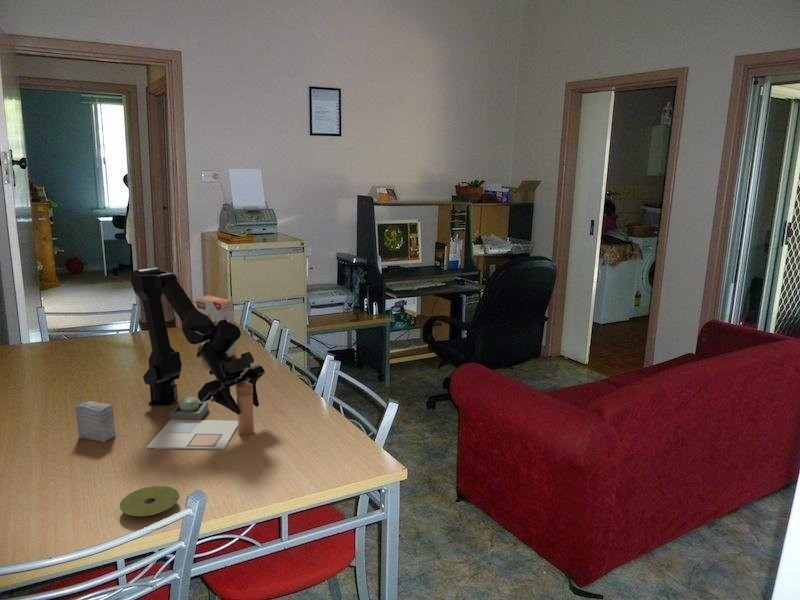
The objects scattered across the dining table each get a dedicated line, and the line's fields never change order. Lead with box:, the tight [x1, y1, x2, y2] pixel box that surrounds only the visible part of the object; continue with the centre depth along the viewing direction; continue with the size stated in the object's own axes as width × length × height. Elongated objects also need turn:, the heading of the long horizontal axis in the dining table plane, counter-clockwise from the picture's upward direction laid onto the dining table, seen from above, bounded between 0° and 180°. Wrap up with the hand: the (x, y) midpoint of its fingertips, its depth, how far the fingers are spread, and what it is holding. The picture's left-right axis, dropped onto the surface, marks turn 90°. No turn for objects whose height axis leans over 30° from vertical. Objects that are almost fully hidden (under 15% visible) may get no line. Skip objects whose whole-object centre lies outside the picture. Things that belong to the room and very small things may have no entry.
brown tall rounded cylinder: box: [235, 383, 255, 436], centre depth 156 cm, size 4×4×13 cm
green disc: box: [119, 485, 180, 517], centre depth 122 cm, size 11×11×2 cm
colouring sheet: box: [146, 419, 238, 450], centre depth 155 cm, size 19×16×1 cm
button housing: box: [169, 401, 209, 421], centre depth 167 cm, size 8×8×2 cm
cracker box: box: [195, 294, 236, 357], centre depth 218 cm, size 14×6×21 cm, turn 55°
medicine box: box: [75, 400, 117, 443], centre depth 152 cm, size 8×4×9 cm, turn 71°
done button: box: [179, 396, 200, 412], centre depth 166 cm, size 5×5×3 cm
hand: (248, 409), depth 155 cm, fingers open, 6 cm apart
